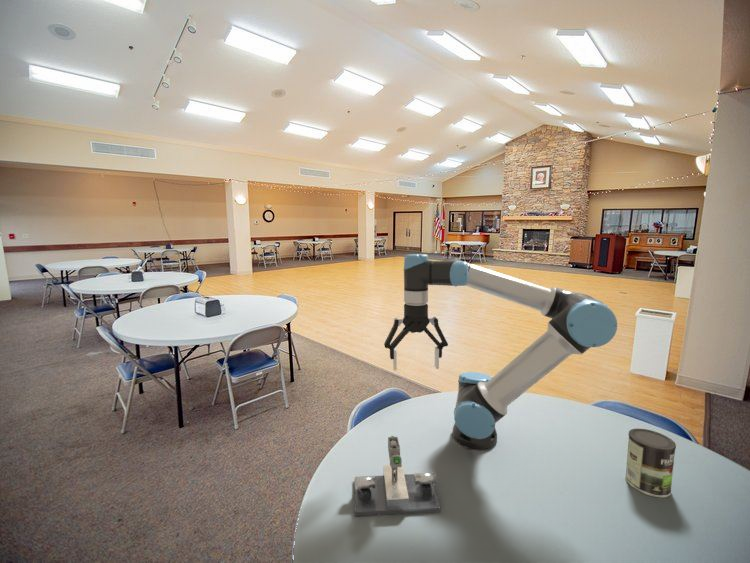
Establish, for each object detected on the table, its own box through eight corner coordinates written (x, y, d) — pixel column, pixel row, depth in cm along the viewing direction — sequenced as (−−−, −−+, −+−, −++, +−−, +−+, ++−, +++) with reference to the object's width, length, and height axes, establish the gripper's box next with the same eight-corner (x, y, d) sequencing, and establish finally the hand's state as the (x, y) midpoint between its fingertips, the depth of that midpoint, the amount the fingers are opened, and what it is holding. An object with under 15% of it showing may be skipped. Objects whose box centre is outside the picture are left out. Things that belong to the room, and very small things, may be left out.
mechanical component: (391, 493, 88) (391, 458, 87) (387, 467, 99) (387, 435, 97) (402, 493, 89) (402, 457, 87) (397, 467, 99) (397, 434, 97)
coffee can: (678, 489, 95) (683, 442, 93) (659, 503, 90) (664, 453, 88) (636, 468, 104) (640, 424, 102) (617, 479, 99) (621, 433, 97)
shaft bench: (429, 477, 101) (429, 458, 100) (440, 512, 88) (440, 490, 87) (355, 480, 100) (354, 461, 99) (354, 516, 87) (354, 494, 86)
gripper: (451, 300, 112) (450, 362, 114) (375, 301, 111) (376, 364, 113) (458, 304, 104) (457, 371, 107) (377, 306, 103) (378, 373, 106)
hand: (415, 367), depth 110 cm, fingers open, 13 cm apart
